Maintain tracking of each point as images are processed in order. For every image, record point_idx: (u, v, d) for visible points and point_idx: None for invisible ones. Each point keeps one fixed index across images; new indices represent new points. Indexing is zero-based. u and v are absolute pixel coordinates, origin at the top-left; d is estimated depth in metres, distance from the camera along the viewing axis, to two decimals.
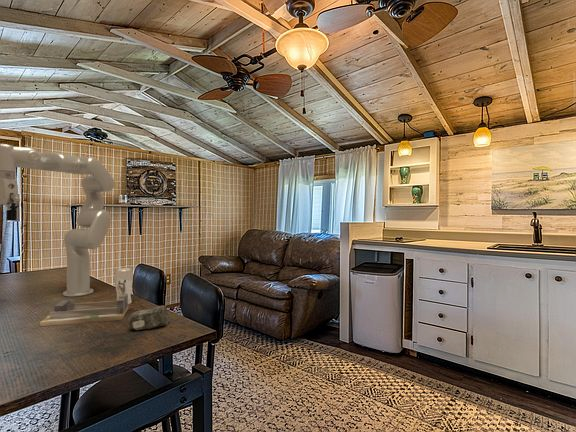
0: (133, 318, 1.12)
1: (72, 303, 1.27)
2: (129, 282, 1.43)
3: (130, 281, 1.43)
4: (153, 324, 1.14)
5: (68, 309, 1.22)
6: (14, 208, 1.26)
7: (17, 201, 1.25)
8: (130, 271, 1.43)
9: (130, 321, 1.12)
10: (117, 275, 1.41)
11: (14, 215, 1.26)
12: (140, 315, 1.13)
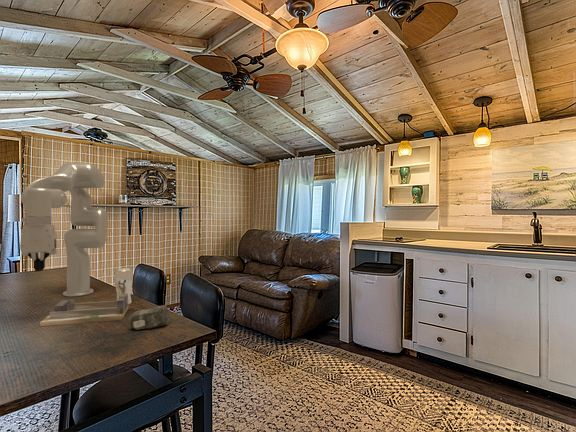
0: (134, 318, 1.12)
1: (72, 303, 1.27)
2: (129, 282, 1.43)
3: (130, 281, 1.43)
4: (153, 324, 1.14)
5: (68, 309, 1.22)
6: None
7: None
8: (130, 271, 1.43)
9: (131, 321, 1.12)
10: (117, 275, 1.41)
11: None
12: (140, 315, 1.13)
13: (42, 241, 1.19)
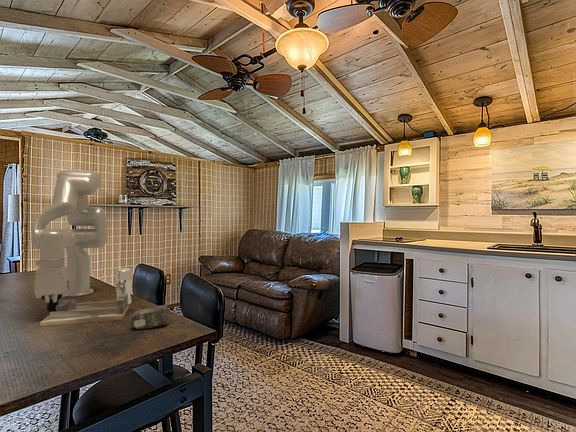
0: (134, 317, 1.13)
1: (73, 303, 1.27)
2: (129, 282, 1.43)
3: (130, 281, 1.43)
4: (154, 323, 1.14)
5: (69, 309, 1.23)
6: None
7: None
8: (130, 271, 1.43)
9: (131, 320, 1.13)
10: (117, 275, 1.41)
11: None
12: (141, 314, 1.14)
13: (55, 284, 1.21)
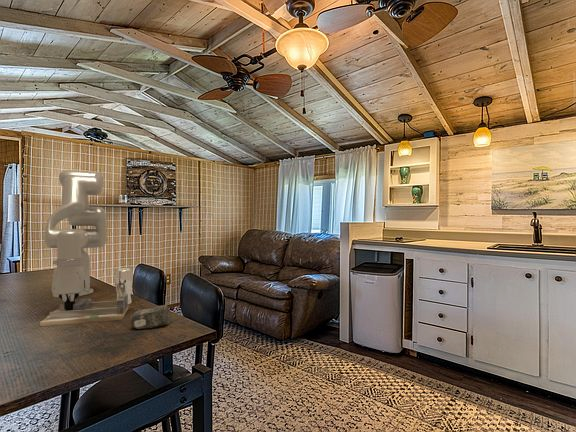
0: (135, 317, 1.13)
1: (89, 302, 1.29)
2: (129, 282, 1.43)
3: (130, 281, 1.43)
4: (154, 323, 1.14)
5: (86, 308, 1.24)
6: None
7: None
8: (130, 271, 1.43)
9: (132, 320, 1.13)
10: (117, 275, 1.41)
11: None
12: (141, 314, 1.14)
13: (73, 283, 1.23)
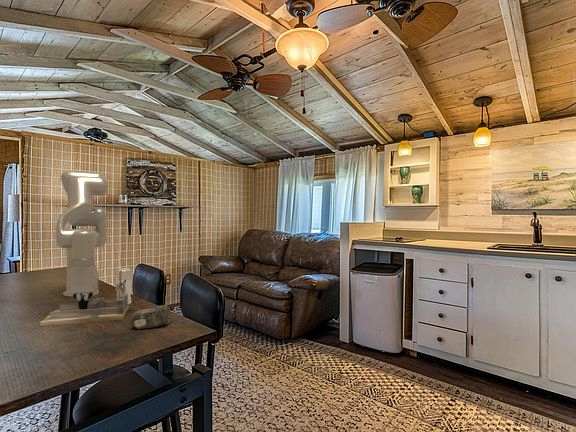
0: (135, 317, 1.13)
1: (103, 301, 1.30)
2: (129, 282, 1.43)
3: (130, 281, 1.43)
4: (154, 323, 1.14)
5: (100, 307, 1.26)
6: None
7: None
8: (130, 271, 1.43)
9: (132, 320, 1.13)
10: (117, 275, 1.41)
11: None
12: (141, 314, 1.14)
13: (87, 282, 1.24)
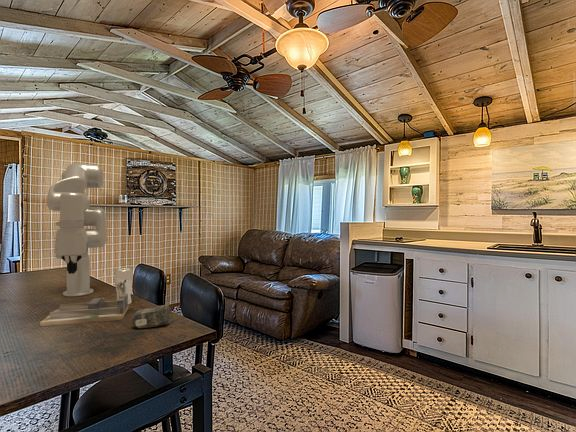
0: (136, 316, 1.14)
1: (103, 301, 1.30)
2: (129, 282, 1.43)
3: (130, 281, 1.43)
4: (155, 323, 1.15)
5: (100, 307, 1.26)
6: None
7: None
8: (130, 271, 1.43)
9: (133, 319, 1.14)
10: (117, 275, 1.41)
11: None
12: (142, 314, 1.15)
13: (75, 245, 1.23)
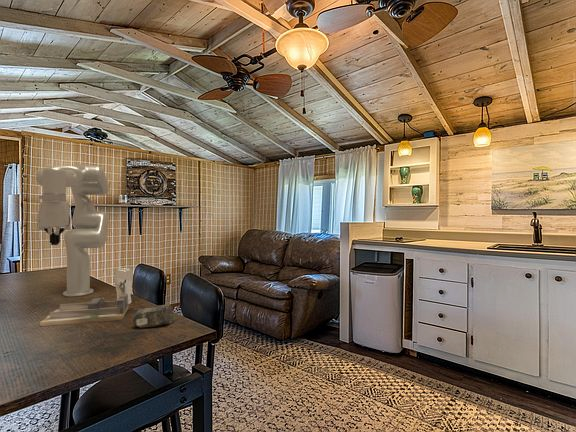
0: (137, 316, 1.14)
1: (103, 301, 1.30)
2: (129, 282, 1.43)
3: (130, 281, 1.43)
4: (156, 322, 1.15)
5: (100, 307, 1.26)
6: None
7: None
8: (130, 271, 1.43)
9: (134, 318, 1.14)
10: (117, 275, 1.41)
11: None
12: (143, 313, 1.15)
13: (58, 217, 1.29)
